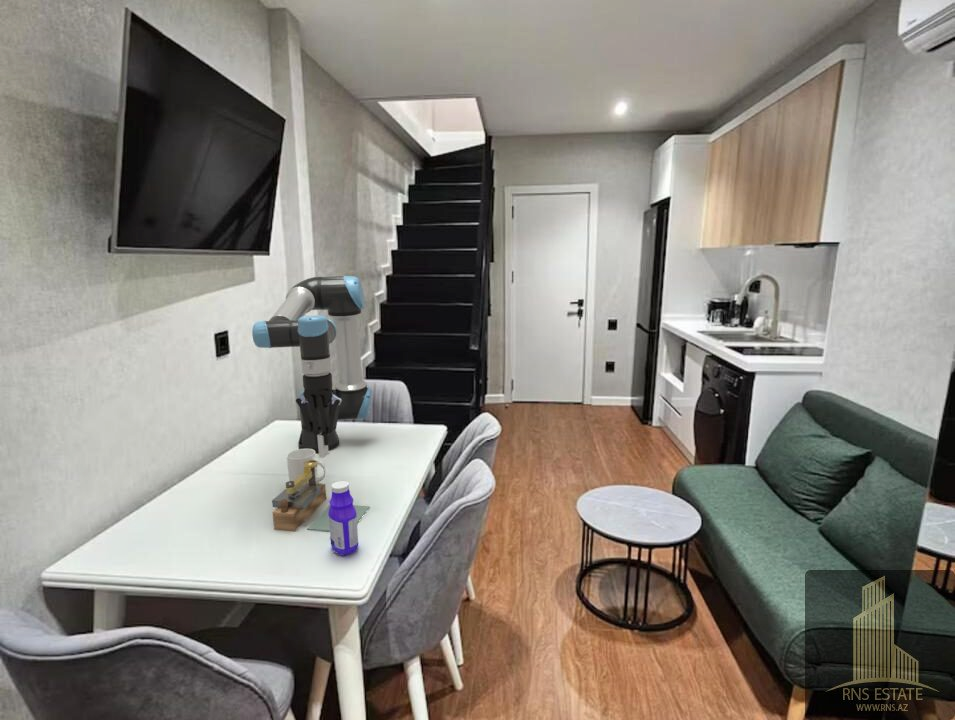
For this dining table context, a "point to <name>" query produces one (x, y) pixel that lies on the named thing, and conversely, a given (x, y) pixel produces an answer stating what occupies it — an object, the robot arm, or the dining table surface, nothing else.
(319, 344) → the robot arm
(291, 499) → the grey knob plate
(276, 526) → the plane body
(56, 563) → the dining table surface
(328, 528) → the mat
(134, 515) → the dining table surface
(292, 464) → the mug
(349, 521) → the bottle
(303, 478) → the lever
